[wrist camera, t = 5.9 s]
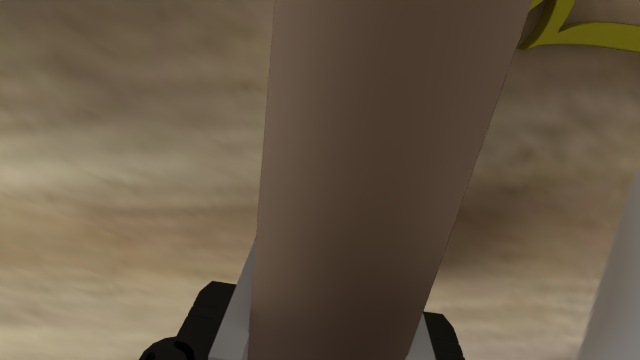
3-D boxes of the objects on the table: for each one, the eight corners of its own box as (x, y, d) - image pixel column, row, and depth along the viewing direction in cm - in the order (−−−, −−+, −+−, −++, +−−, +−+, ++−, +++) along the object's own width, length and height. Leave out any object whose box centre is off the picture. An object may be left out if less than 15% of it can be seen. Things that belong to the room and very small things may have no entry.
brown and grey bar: (257, 440, 21) (227, 591, 15) (333, -212, 9) (320, -577, 4) (325, 449, 21) (319, 605, 15) (487, -188, 9) (713, -511, 4)
